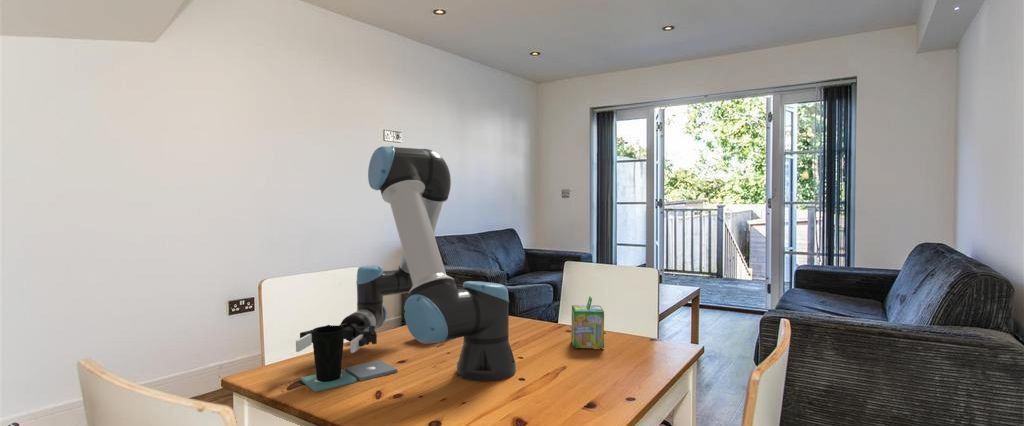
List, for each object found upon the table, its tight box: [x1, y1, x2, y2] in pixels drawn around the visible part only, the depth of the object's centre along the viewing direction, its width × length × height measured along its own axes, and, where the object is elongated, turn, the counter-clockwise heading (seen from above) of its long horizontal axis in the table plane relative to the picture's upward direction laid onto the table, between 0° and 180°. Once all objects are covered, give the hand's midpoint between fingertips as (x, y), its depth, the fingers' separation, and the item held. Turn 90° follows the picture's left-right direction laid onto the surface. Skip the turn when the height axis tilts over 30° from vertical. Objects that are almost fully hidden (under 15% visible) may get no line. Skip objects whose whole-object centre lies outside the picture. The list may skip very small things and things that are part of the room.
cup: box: [311, 325, 345, 382], centre depth 124 cm, size 8×8×12 cm
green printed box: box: [570, 296, 605, 349], centre depth 154 cm, size 9×9×15 cm
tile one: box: [344, 359, 399, 382], centre depth 131 cm, size 10×10×1 cm
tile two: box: [300, 368, 358, 393], centre depth 124 cm, size 10×10×1 cm
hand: (324, 346), depth 122 cm, fingers open, 13 cm apart
